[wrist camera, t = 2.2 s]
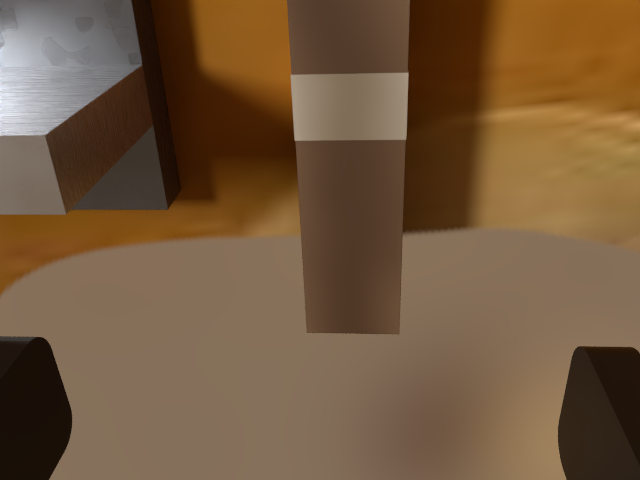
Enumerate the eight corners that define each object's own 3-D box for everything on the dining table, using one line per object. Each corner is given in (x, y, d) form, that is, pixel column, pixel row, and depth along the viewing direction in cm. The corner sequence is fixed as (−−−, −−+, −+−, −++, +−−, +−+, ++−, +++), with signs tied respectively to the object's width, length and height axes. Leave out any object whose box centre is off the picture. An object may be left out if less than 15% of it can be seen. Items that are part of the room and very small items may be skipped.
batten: (411, -227, 20) (419, -253, 17) (396, 283, 30) (399, 334, 26) (288, -220, 21) (271, -244, 17) (314, 282, 30) (306, 332, 27)
